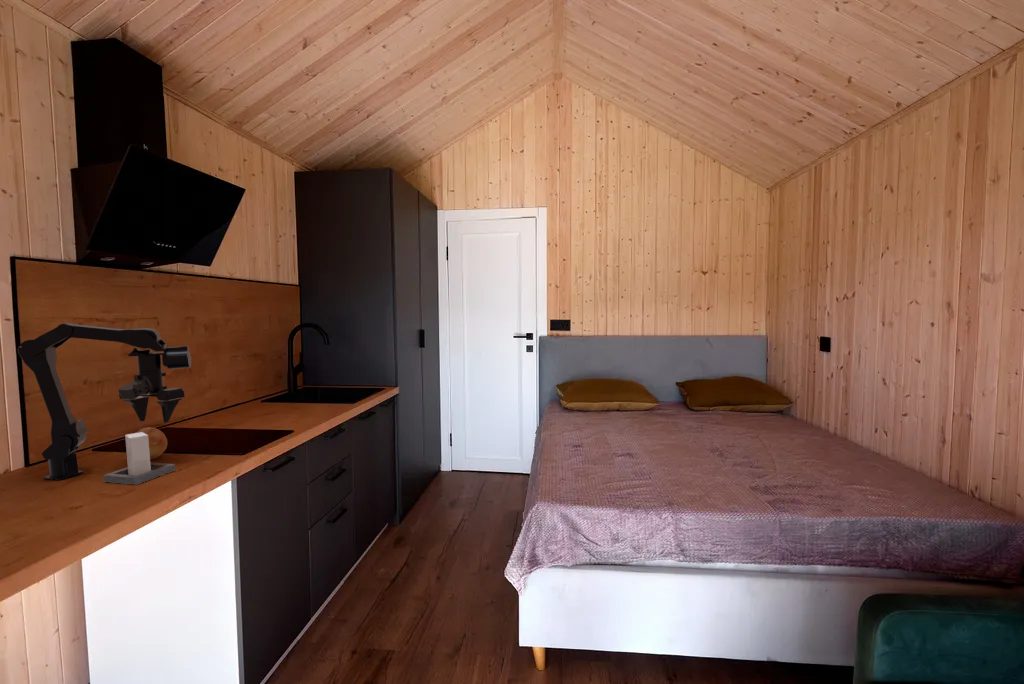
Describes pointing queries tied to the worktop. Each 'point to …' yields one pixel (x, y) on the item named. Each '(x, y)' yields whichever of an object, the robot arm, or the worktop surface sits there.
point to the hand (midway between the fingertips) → (154, 421)
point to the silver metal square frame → (124, 478)
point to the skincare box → (138, 453)
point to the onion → (155, 441)
